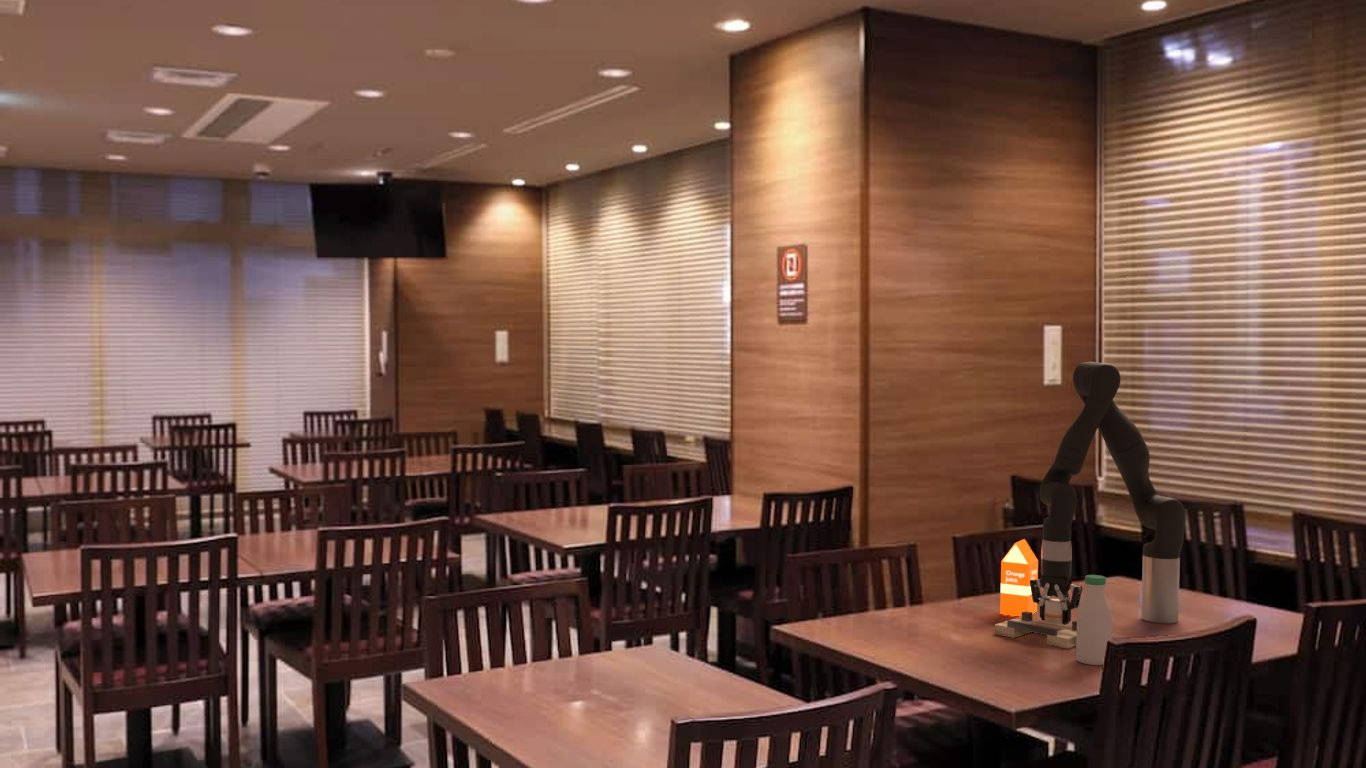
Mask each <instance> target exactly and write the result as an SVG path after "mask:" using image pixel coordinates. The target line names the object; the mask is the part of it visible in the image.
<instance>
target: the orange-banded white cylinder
mask: <svg viewBox="0 0 1366 768" xmlns="http://www.w3.org/2000/svg"><path fill="white" fill-rule="evenodd" d="M1063 610H1064V609H1063V606H1062V603H1061V602H1060V600H1059V598H1050V599H1046V600H1045V612H1044V615H1045V621H1046V622H1052V623H1057V624H1063V623H1062V621H1063ZM1063 625H1065V624H1063Z"/></svg>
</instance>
